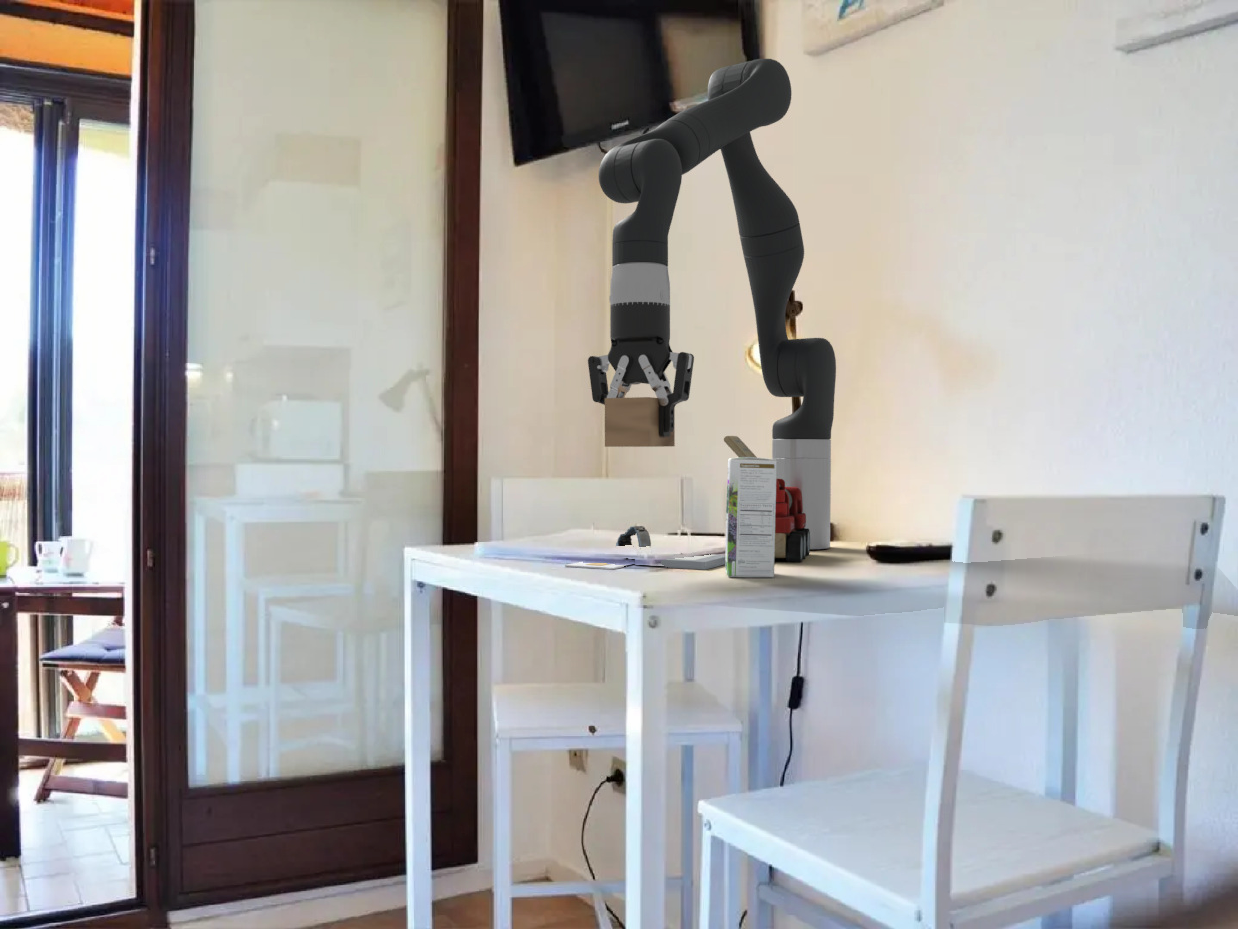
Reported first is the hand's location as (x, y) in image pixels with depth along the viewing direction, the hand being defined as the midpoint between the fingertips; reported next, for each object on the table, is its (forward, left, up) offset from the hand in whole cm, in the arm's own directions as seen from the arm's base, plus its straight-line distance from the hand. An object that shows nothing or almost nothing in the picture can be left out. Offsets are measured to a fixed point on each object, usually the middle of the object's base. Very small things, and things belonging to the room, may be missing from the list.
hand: (640, 436), depth 132 cm
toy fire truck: (-26, +8, -17) cm, 32 cm away
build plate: (-11, +2, -17) cm, 20 cm away
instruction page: (-5, -7, -17) cm, 19 cm away
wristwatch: (-14, -7, -17) cm, 23 cm away
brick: (0, 0, -1) cm, 1 cm away
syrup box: (-3, +14, -17) cm, 22 cm away
